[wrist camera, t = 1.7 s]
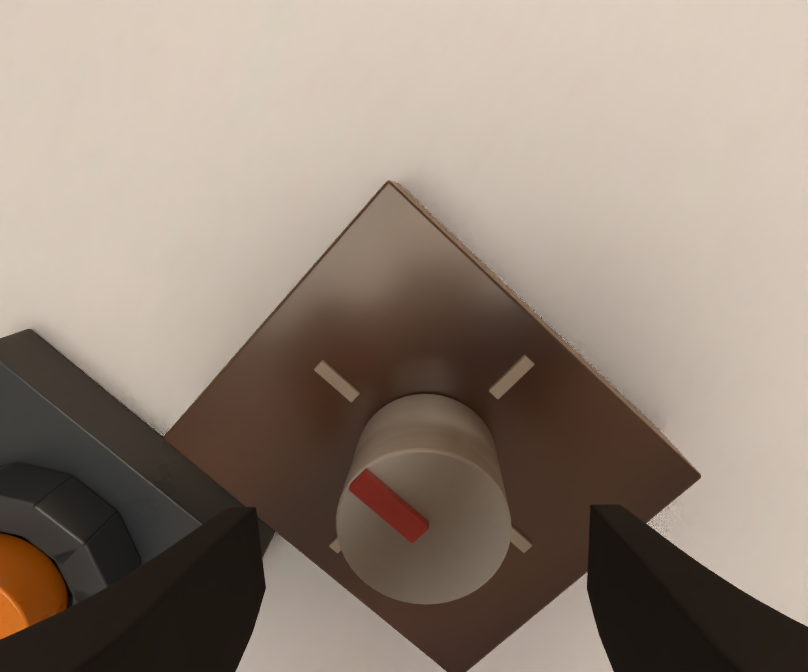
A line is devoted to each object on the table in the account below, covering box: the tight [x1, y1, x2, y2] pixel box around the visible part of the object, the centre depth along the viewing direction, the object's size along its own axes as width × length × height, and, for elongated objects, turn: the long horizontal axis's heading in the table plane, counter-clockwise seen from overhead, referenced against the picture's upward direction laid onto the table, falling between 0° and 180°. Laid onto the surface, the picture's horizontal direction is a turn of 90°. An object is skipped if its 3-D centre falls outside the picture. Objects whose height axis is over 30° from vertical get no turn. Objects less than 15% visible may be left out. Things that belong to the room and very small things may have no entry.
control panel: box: [164, 181, 701, 672], centre depth 18 cm, size 12×10×3 cm
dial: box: [336, 394, 512, 604], centre depth 14 cm, size 4×4×4 cm
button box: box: [0, 329, 275, 609], centre depth 19 cm, size 11×10×4 cm
